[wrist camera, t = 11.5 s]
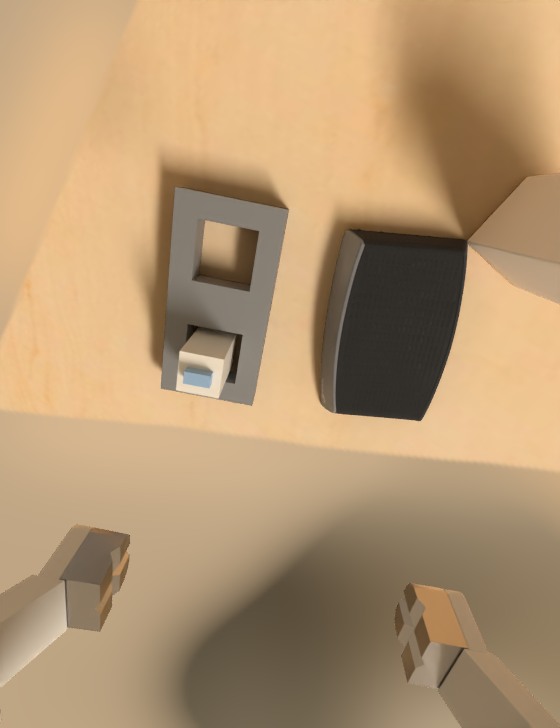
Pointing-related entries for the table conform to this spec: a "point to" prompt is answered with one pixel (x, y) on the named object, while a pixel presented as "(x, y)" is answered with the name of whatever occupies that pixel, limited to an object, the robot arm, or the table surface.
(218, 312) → the socket panel
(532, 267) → the milk carton
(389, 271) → the external hard drive
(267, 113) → the table surface
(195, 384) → the plug
